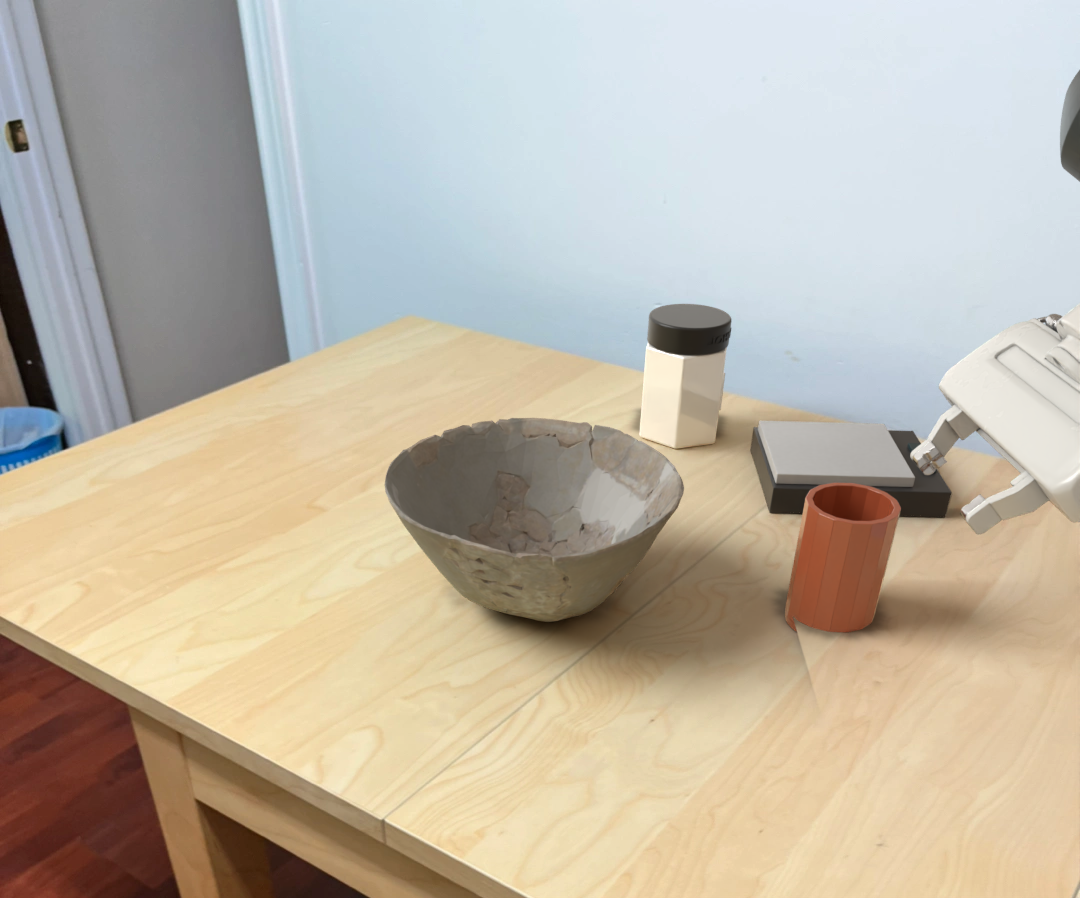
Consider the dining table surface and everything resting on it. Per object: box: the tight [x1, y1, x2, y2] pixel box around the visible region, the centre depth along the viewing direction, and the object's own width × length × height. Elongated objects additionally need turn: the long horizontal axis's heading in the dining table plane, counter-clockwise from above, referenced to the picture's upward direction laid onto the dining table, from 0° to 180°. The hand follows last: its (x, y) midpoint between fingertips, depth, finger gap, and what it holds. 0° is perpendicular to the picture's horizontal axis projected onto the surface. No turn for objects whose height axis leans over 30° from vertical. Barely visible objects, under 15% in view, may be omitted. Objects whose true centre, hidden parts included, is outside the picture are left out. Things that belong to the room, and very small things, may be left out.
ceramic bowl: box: [384, 417, 685, 623], centre depth 81 cm, size 22×23×10 cm
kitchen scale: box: [749, 420, 953, 518], centre depth 99 cm, size 16×14×4 cm
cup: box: [784, 483, 901, 633], centre depth 78 cm, size 7×7×10 cm
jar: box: [639, 303, 732, 450], centre depth 106 cm, size 9×8×12 cm
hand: (941, 493), depth 74 cm, fingers open, 8 cm apart
